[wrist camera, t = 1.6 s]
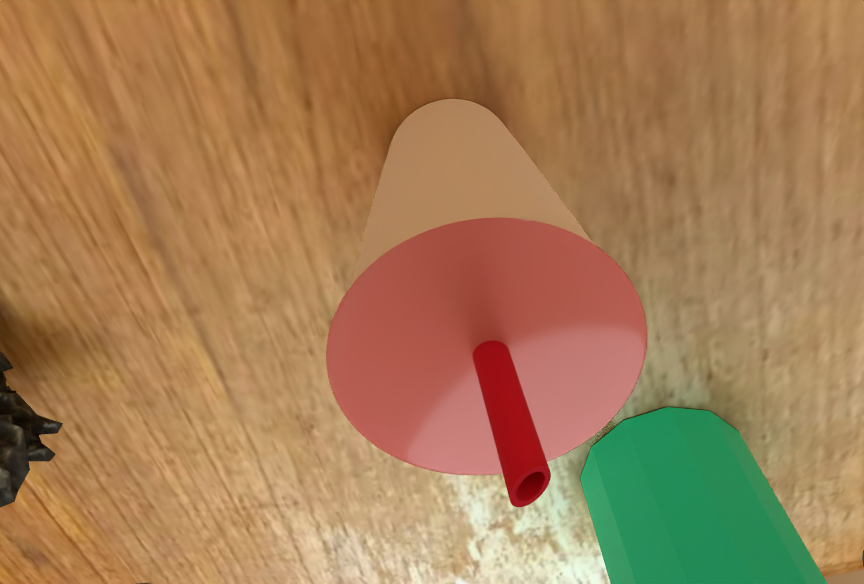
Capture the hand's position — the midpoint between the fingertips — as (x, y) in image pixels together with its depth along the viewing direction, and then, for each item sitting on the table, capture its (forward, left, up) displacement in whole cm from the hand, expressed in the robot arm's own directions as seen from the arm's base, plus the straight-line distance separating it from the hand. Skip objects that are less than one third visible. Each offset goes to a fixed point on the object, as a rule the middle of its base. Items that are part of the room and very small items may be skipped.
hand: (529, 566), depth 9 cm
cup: (0, 0, -13) cm, 13 cm away
